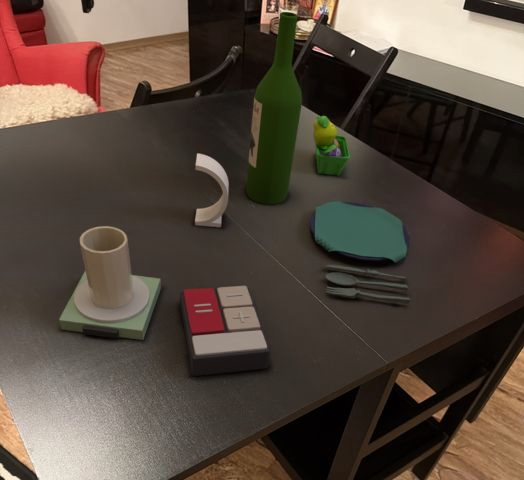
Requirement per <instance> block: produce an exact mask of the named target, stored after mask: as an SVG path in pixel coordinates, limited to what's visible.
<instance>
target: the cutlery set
mask: <svg viewBox="0 0 524 480" xmlns="http://www.w3.org/2000/svg"><path fill="white" fill-rule="evenodd" d="M309 225H310V230H311V233H312V234H313V236H314V240H315V242H316V244H317V245H320V246H321V247H322V248H324V250H325V251H326V250H327V252H328V253H330V252H335V253H337V254H340V255H341V256H344V257H347V258H350V259H351V258H352V259H355V260H360V261H371V262H380V261H387V260H391V261H393V262H394V264H396V263H398V262H400V261H402V260H403V259H404V258H405V257H406V255H407V253H408V247H409V246H410V238H411V236H410V234H409V231H408V229H407V227H406V226H405V225H404V224H403V222H402V220H401V219H400V218H399V217H397V216H396V215H394V214H392V213H390V212H389V211H388V210H385V209H384V208H381V207H375V206H373V205H368V204H363V203H360V202H349V201H338V200H331V201H329V202H326V203H323V204H321V205H318V206H316V207H315V211H314V212H313V213H312V214H311V217H310V220H309ZM325 268H326V269H329V270H337V271H343V272H333V271H332V272H329V273H325V279H327V280H328V281H330V282H331V283H333V284H335V285H338V286H342V287H330V286H325V293H326V294H329V295H334V296H340V297H344V298H348V299H357V298H360V297H364V298H368V299H373V300H377V301H383V302H384V301H385V302H391V303H393V302H394V303H401V304H406V305H409V304H410V302H411V298H410V297H404V296H397V295H396V296H395V295H391V296H390V295H382V294H374V293H370V292H366V291H365V292H364V291H361V289H356V288H355V287H352V286H354V285H366V286H376V287H384V288H391V289H397V290H401V291H406V292H407V291H408V289H409V287H408V284H401V283H400V284H399V283H392V282H382V281H368V280H367V281H366V280H365V281H364V280H362V281H361V280H359V279H358V278H357V277H355V276H353V275H351V274H348V273H344V272H350V273H357V274H363V275H365V276H366V277H368V276H371V277H378V276H382V277H387V278H395V279H399V280H403V281H404V282H405V281H406V275H403V276H402V275H393V274H389V273H386V272H385V273H384V272H379V271H378V270H375V269H372V270H370V269H369V268H367V269H366V270H365V269H362V268H361V269H360V268H356V267H350V266H346V265H345V266H344V265H338V264H326V265H325ZM350 286H351V287H352V288H346V287H350Z"/></svg>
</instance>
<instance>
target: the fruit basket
mask: <svg viewBox="0 0 524 480" xmlns="http://www.w3.org/2000/svg"><path fill="white" fill-rule="evenodd" d="M316 118H317V119H316V120H314V122H313V133H312V134H313V136H312V137H313V140H314V143H315V158H316V168H317V174H324V175H330V176H340V175H341V174H342V172H343V169H344V167H346V163H347V162H348V161H349V159H350V158H351V155H350V151H349V146H348V141H347V137H346V136H343V135H338V133H339V132H338V129H337V127H336V126H335V124H334V123H332V122H331V121H330V119H329V117H327V116H326V115H321V116H320V115H318V116H317V117H316Z"/></svg>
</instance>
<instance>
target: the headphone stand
mask: <svg viewBox="0 0 524 480" xmlns="http://www.w3.org/2000/svg"><path fill="white" fill-rule="evenodd" d="M194 167H195V171H200V172H203V173H205V174H207V175H209V176H211V177H212V178H213V179H214V180H216V182H217V183H218V185H219V186H220V188H221V192H222V195H221V196H220V198H219V200H218V201H216V203H214V204H213V205H210V206H208V207H203V208H196V211H195V219H194V226H200V227H201V226H202V227H213V228H215V227H216V228H222V218H223V217H222V216H223V215H224V213H225V211H226V209H227V207H228V203H229V190H230V184H229V182H230V181H229V177H228V175H227V172H226V170H225V169H224V167H223V166H222V165H221V164H220V163H219V162H218V161H217V160H216V159H214V158H213V157H211V156H208V155H206V154H203V153H198V152H197V153H196V160H195V165H194Z"/></svg>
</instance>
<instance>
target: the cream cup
mask: <svg viewBox="0 0 524 480" xmlns="http://www.w3.org/2000/svg"><path fill="white" fill-rule="evenodd" d="M79 246H80V251H81V256H82V260H83V265H84V272H85V271H86V276H87V281H88V286H89V290H90V295H91V299H92V301H93V302H94V303H95V304H96V305H98V306H100V307H102V308H108V309H113V308H119V307H122V306H124V305H126V304H128V303H129V302H130V301H131V300H132V298H133V295H134V293H133V292H134V291H133V282H132V275H133V274H132V266H131V258H130V257H131V256H130V250H129V240H128V235H127V234H126V233H125V231H123V230H122V229H121V228H117V227H115V226H109V225H103V226H102V225H101V226H96V227H92V228H89V229H86V230H85V231H84V232H82V234H81V236H80V237H79Z"/></svg>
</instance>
